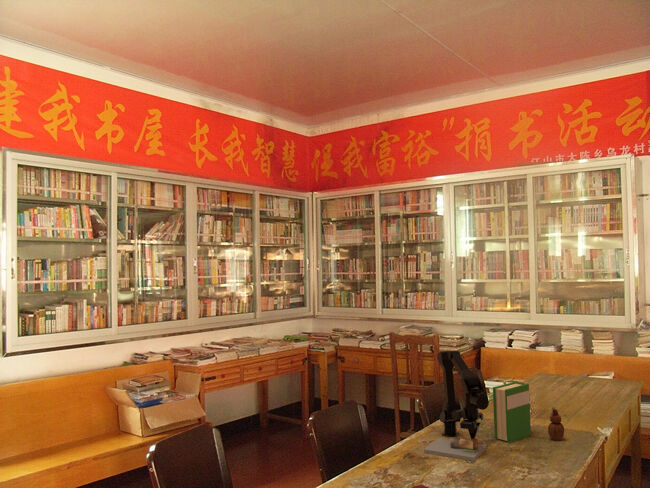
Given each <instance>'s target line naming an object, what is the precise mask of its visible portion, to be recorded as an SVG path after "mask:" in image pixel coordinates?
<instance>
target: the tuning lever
mask: <svg viewBox="0 0 650 488" xmlns="http://www.w3.org/2000/svg"><path fill="white" fill-rule="evenodd" d="M449 440H450V446H451V447H454V448H459V447H461V448H469V449H475V450H476V449H478V444H479V443H478V442H479V441H478V440H479V439H478V438H476V437H475V438H473V439H472V440H471V439H463V438H460V437H451V438H450V439H449Z"/></svg>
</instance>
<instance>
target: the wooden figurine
mask: <svg viewBox="0 0 650 488" xmlns="http://www.w3.org/2000/svg"><path fill="white" fill-rule="evenodd" d="M549 421H550V423H548V425H547V432H548V435H549V438H550V439H551V440H553V441H562V440H563V438H564V436H565V427H564V424H563V423H561V422H562V417H561V415H560V414H559V412H558V410H557V409H556V407H554V406H553V407H552V414H551V415H550V416H549Z"/></svg>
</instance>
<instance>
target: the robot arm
mask: <svg viewBox="0 0 650 488" xmlns="http://www.w3.org/2000/svg"><path fill="white" fill-rule="evenodd" d="M436 358H437V359H436V360H437V361H438V362H437V363H438V365H439V367H440V368H441V370H442V375H443V376H442V378H443V389H444V390H443V391H444V402H443V404H442V408H441V409H442V410H441V412H440V414H439V417H438V418H439V421H440V422H441V423H442V424H443V427H444V428H443V430H444V432H442V433H441V435H442V436H444V437H446V436H447V437H451V438H456V437H457V436H458V435H459V434H460V432H459V431H457V423H459V428H460V429H465V430H467V431H468V433H469V437H470V440H472V439H473V438H476V437H477V434H478V431H479V428H480V426H481V422H478V420H479V419H480V421H483V420H484V414H483V413H482V412H479V410H482V411H484V410H486V409H487V408H488V407H489V403H490V401H489V399H488V397H487V396H485V393H484V392H485V389H484V388H485V387H484V386H483V383H482V381H481V378H480V377H479V376H478V374H477V373H475V372H474V371H472V370H471V369H470V368H469V366H468V365H467V363H466V362H465V361H464V359H463V356H462V355H461V352H460V351H459V350H440V351H439V352H438V353H437V355H436ZM454 367H455V369H456V371H457V373H458V375H459V376H460V385H461V386H462V392H463V393H464V406H463V408H461V405H460V404H459V403H458V402H457V400H456V391H455V390H456V389H455V378H454ZM461 419H463V420H462V421H461Z"/></svg>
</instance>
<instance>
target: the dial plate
mask: <svg viewBox="0 0 650 488" xmlns="http://www.w3.org/2000/svg"><path fill="white" fill-rule="evenodd" d="M487 449H488V445H487V444H482V443H478V449H476V450H475V449H469V448H461V447H459V448H454V447H451V446H450V439H449V438H442V437H438V438H437V439H436V440H434V441H433V442H432V443H430V444H429V445H427V446H426V447H425V448H424V449H423V453H424V454H428V453H429V455H434V454H435V456H440V455H441V457H447V458H453V459H459V460H464V461H470V460H471V462H475V461H476V460H477V459H478V458H480V456H481V455H482V454H484V452H485V451H486V450H487Z"/></svg>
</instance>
